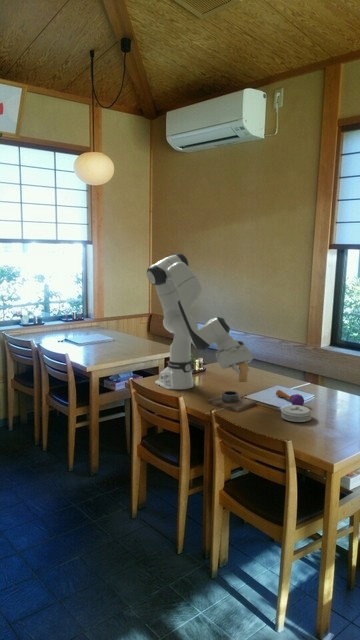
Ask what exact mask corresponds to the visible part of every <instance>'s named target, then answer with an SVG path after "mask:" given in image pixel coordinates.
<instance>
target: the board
mask: <svg viewBox="0 0 360 640" xmlns="http://www.w3.org/2000/svg"><path fill="white" fill-rule="evenodd" d="M207 403H208V404H211V405H213V406H216V407H219V408H223V409H226V410H229V411H232V412H237V413H238V412H241V411H243V410H244V411H245V410H247V409H249V408H252V407H255V406H257V401H255V400H252V399H248V398H244V397H242V396H239V401H238V402H236V403H226V402H223V401H222V395H219V396H216V397H212V398H209V399H207Z"/></svg>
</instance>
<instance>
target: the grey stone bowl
mask: <svg viewBox="0 0 360 640" xmlns="http://www.w3.org/2000/svg"><path fill="white" fill-rule="evenodd" d="M221 396H222V401H223V402H226V403H236V402H238V401H239V397H240V394H239V392H238V391H235V390H225V391H222V393H221Z"/></svg>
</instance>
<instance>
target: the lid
mask: <svg viewBox="0 0 360 640" xmlns="http://www.w3.org/2000/svg"><path fill="white" fill-rule="evenodd" d="M280 417H281V418H282V419H284V420H286V421H288V422H289V421H290V422H295V423H302V422H304V423H305V422H308V421H311V420H312V410H311V409H310V408H309V407H306V406H305V405H304V406H303V405H302V406H299V405H292V404H290V405H289V404H288V405H286V406H283V408H281V415H280Z"/></svg>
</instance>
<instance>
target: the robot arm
mask: <svg viewBox="0 0 360 640" xmlns="http://www.w3.org/2000/svg"><path fill="white" fill-rule="evenodd" d="M146 277H147V279H148V281H149V282H150V284H152V285H153V286H154V287H155V291H156V294H157V296H158V300H159V302H160V306H161V308H162V312H163V319H162V324H163V325H162V326H163V328H164V329H165V330H166V331H168V332H169V333H171V334H173V340H172V343H171V344H170V345H169V360H167V361H166V364H167V367H165V368H164V369H162V370H161V371H160V373H159V376H158V377H159V378H158V379H157V380H155V381H154V384H155V385H157V386H159V385H160V387H161V388H164V389H165V390H187V389H188V390H189V389H191V388H193V387H194V386H195V385H194V383H195V382H194V380H193V379H194V378H193V372H192V371H193V370H192V359H191V349H192V348H191V346H192V345H193V346H194V348H195V349H196V350H199V351H206V350H208V349H209V347H211V346H212V345H213V344H215V346H216V349H217V350H215V352H214V356H215V358H216V361H217V363H218V365H219V367H220V368H221V369H222V370H225V369H229V368H231V369H232V370H233V371H235V372H236V374H238V375H239V374H240V373H241V372H242V371H241V369H239V364H240V363H246V364H248V363H251V362H252V361H253V359H254V357H253V356H254V355H253V354H252V353H251V351H250V350H249V348H248V347H247V346H246V345H245V342H244V341H241V340H236V339H234V338H233V336H231V335H230V331H231V327H230V326H229V325H228V324H227V322H226V319H225V318H223V317H221V316H219V317H218V316H216V317H213V318H210V319H209V320H207V321H206V323H205V324H203V325H202V326H200V327H199V325H198V322H197V321H196V320H195V319H194V318H193V317H192V315H191V311H192V310H191V309H192V308H193V306H194V305H195V303H196V302H197V300H198V299H199V297H200V295H201V292H202V285H201V282H200V281H199V278H197V276H196V275H195V273H194V271H193V270H192V269H191V268H190V267H189V261H188V258H187V257H186V256H185V255H184V254H183V253H181V252H179V253H174V254H172V255H169V256H167V257H164V258H162V259H160V260H159V261H157V262H156V263H154V264H151V265H150V266H148V268H147V270H146ZM249 371H250V368H249V366H248V367H247V372H249Z"/></svg>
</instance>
